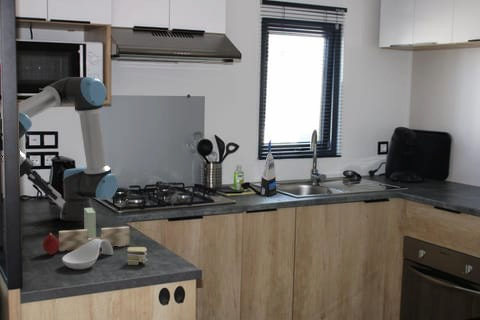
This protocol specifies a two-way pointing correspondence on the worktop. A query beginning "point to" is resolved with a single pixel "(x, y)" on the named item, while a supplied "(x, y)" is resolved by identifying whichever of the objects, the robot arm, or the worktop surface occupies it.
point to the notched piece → (90, 222)
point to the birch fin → (80, 238)
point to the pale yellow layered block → (136, 255)
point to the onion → (51, 244)
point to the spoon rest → (87, 254)
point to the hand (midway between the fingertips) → (61, 201)
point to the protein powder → (268, 176)
